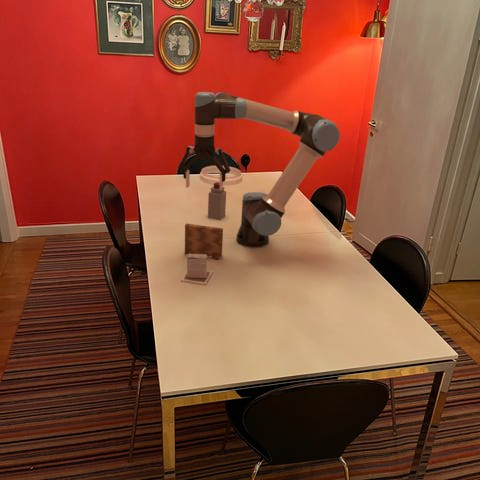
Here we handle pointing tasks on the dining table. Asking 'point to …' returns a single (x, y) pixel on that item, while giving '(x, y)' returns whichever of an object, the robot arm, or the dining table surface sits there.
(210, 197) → the perfume bottle
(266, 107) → the robot arm
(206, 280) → the picture frame
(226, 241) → the dining table surface
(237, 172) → the pale pink ring
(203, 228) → the wooden board with stops
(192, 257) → the box
